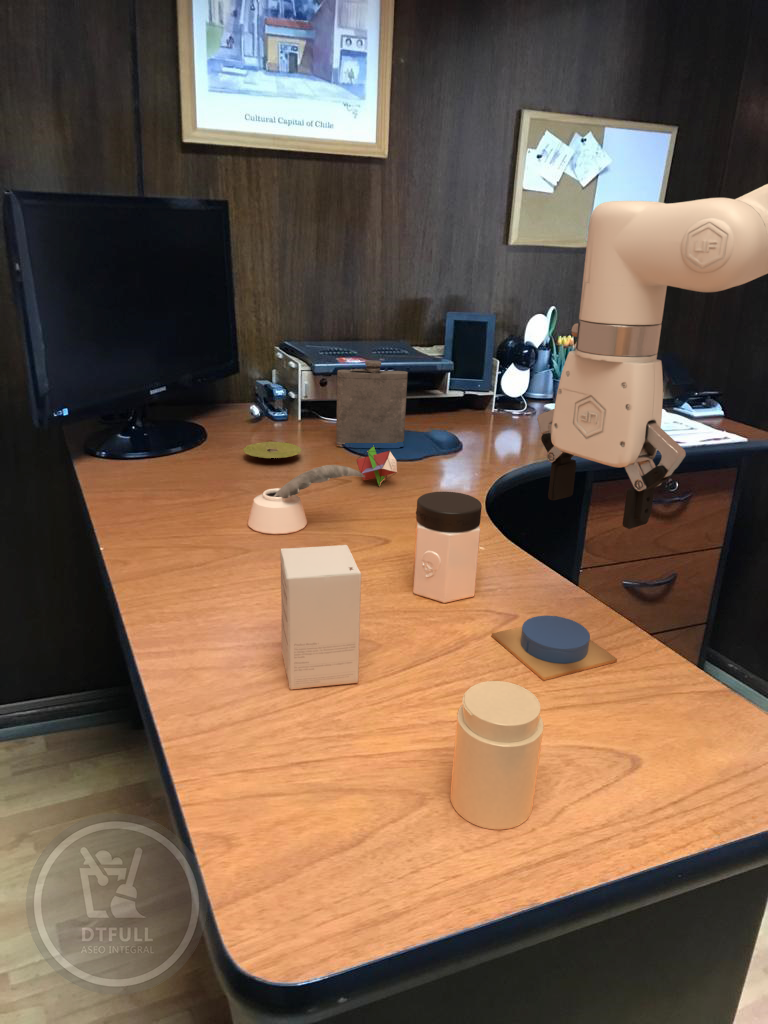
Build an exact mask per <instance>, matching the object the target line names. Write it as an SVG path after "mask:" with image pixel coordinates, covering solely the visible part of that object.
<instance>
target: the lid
mask: <svg viewBox="0 0 768 1024" xmlns="http://www.w3.org/2000/svg"><path fill="white" fill-rule="evenodd" d="M521 627H522V633H521V646H522V647H523V649H524V650H525V651H526V652H527V653H529V654H530V655H532V656H533V657H535V658H538V659H540V660H543V661H547V662H552V663H561V664H565V663H574V662H577V661H580V660H582V659H583V658H585V657H586V655H587V653H588V647H589V641H590V640H591V635H590V632H589V630H587V628H586V627H585V626H583V625H582V624H581V623H579V622H578V621H576V620H572V619H570V618H567V617H563V616H559V615H558V616H557V615H537V616H532V617H530V618H529V619H527V620H525V621H524V622H523V623H522V625H521Z"/></svg>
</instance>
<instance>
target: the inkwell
mask: <svg viewBox="0 0 768 1024" xmlns="http://www.w3.org/2000/svg"><path fill="white" fill-rule="evenodd" d="M342 477H360V478H362V477H365V476H364V475H363V474H362V473H361V472H360V470H357V469H355V468H353V467H350V466H346V465H338V464H326V465H322V466H319V467H313V468H312V469H309V470H307V471H305V472H302V473H300V474H299V475H296V476H295V477H293V478H292V479H290V480H289V481H288V482H286V483H285V484H283V486H281V487H276V488H275V487H274V488H268V489H265V490H264V491H263V492H262V493H261V494H258V495H256V496H255V497H254V498H253V500H252V503H251V507H250V510H249V514H248V517H247V526H248V527H249V528H250V529H251V530H253V531H254V532H257V533H261V534H266V535H288V534H292V533H297V532H299V531H301V530H303V529H305V527H306V526H307V525H308V519H307V515H306V512H305V509H304V506H303V501H302V498H301V497H300V496H299V495H298V494H300V493H301V490H305V489H307V488H309V487H310V486H312V484H320V483H325V482H328V481H330V479H338V478H342Z"/></svg>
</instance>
